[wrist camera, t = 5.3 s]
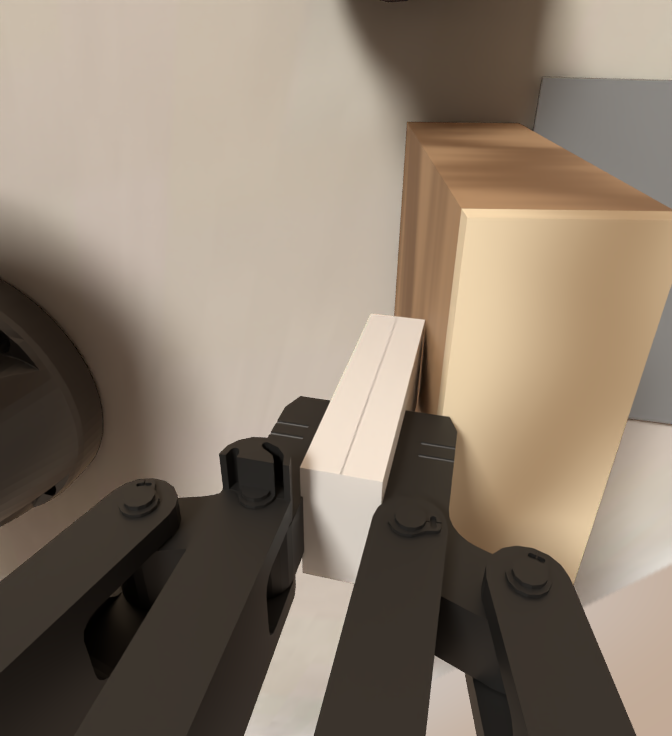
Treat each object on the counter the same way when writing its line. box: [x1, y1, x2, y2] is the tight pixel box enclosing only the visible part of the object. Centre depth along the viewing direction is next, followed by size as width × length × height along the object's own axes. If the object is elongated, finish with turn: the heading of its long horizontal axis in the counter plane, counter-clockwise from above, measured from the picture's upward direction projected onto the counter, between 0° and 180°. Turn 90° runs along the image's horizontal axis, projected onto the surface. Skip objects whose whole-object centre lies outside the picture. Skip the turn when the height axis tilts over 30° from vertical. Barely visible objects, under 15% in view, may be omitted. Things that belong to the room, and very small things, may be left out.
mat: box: [533, 77, 672, 424], centre depth 22 cm, size 11×13×1 cm
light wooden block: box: [394, 122, 672, 584], centre depth 18 cm, size 4×10×12 cm, turn 179°
